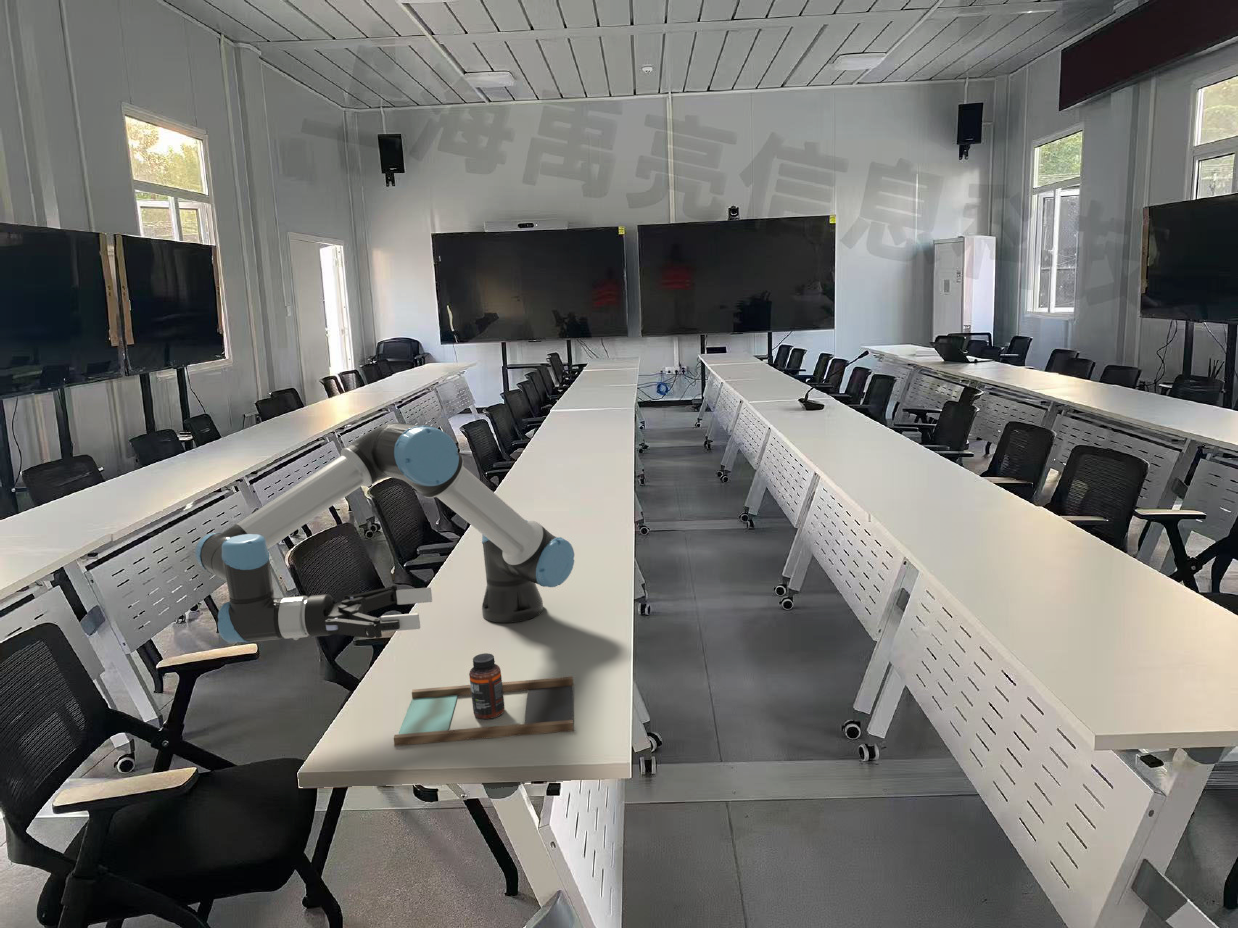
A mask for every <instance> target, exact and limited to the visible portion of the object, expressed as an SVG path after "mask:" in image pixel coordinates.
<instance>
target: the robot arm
mask: <svg viewBox="0 0 1238 928" xmlns="http://www.w3.org/2000/svg"><path fill="white" fill-rule="evenodd" d="M387 478H394V479H398V480H402V481H404V482H405V483H407V484H409V486H411V487H412V488H413V489H414V490H415V491H417V492H418V493H419V494H421V495H422V496H423V497H425V498H426V499H434V498H437V499H438V500H440V501H441V502H442V503H443V504H445V505H446V506H447V507H448V508H450V509H451V510H452V511H453V512H454V513H456V514H457V516H459V517H461V518H462V519H463V520H464V521H466V522H467V523H468V524H469V525H471V526H472V527H473V528H474V529H475V530H477V531H478V532H479V533H480V534H481V535H482V540H481V541H482V542H481V543H482V548H483V549H482V551H483V558H484V569H485V579H486V587H485V591H484V595H483V600H482V605H481V610H482V611H481V614H482V617H483V618H484V619H485V620H487V621H489V622H493V623H500V624H501V623H503V624H505V623H506V624H507V623H508V624H509V623H519V622H522V621H527V620H530V618H531V619H533V618H535V617H538V616H539V615H540V614H542V612H543V611H542V610H544V601H543V598H542V595H541V593H540V591H539V589H538V587H537V585H539V586H540V587H545V588H556V587H558V586H561V585H562V584H563V583H565V581H566V580H567V579H568V578H569V577H570V576H571V573H572V571H573V569H574V564H575V551H574V547H573V545H572V544H571V543H570V542H569V540H566V539H565V538H563V537H561V536H560V537H559V536H558V537H557V536H555V535H553V534H552V533H551V532H549V530H548V529H546V528H545V527H544V526H543V525H541V524H540V523H539V522H538V521H535V520H527V519H525V518H524V517H522V516H521V515H520V514H519V513H518V512H517V511H515V510H514V509H513V507H511V506H510V505H508V504H507V503H506V502H505V501H504V500H503V499H501V497H499V496H498V494H496V493H495V492H494V491H493V490H491V488H489V487H488V486H486V484H484V483H483V482H482V481H481V480H480V479H479V478H478V477H476V476H475V475H474V474H473V473H472V472H471V471H470V470H468V469H467V468H466V467H465V466H464V457H463V456H462V454H461V453H459V452H458V447H457V444H456V442H455V441H454V440H453V438H452V437H451V436H450V435H449V434H447V433H446V432H445V431H443V430H441V429H439V428H436V427H434V426H430V425H417V424H415V425H414V424H409V423H404V422H403V423H402V422H391V423H386V424H383V425H381V426H379V427H375V428H374V429H373V430H370V431H369V432H367V433H366V434H364V435H362V436H361V437H359V438H358V439H356V440H354V441H353V442H351V443H349V444H348V445H347V446H345V447H343V448H342V449H341V450H340V456H339V457H337V458H336V459H334V460H332V461H331V462H329V463H328V464H326V465H325V466H324V467H321V468H320V469H319V470H317V471H316V472H313V473H312V474H311V475H309V476H308V477H306V478H304V479H303V480H301V481H300V482H299V483H298V484H296V485H293V487H290V489H288V490H287V491H285V492H284V493H282V494H281V495H279V496H277V497H276V498H274V499H273V500H271V501H269V502H268V503H266V504H264V506H261V507H260V508H259V509H257V510H255V511H254V512H252V513H251V514H249V515H248V516H247V517H244V519H242V520H240V521H238V522H237V523H236V524H234V525H232V526H231V527H229V528H227V529H226V530H224V531H223V532H213V533H209V534H206V535H205V536H203V537H202V538H201V539H200V540H199V541H198V542H197V545H196V548H195V559H196V561H197V563H198V565H200V566H201V567H202V568H203V570H205V571H206V572H207V573H210V574H211V575H215V576H216V577H218V578H220V579H221V580H223V581H225V582H226V585H227V591H228V599H229V601H227V602H224V603H223V604H222V605H221V606H220V607H219V610H218V613H217V619H218V622H217V629H218V633H219V636H220V637H221V638H222V639H223V640H224V641H225V642H228V643H246V644H247V643H248V644H249V643H253V642H263V641H264V642H265V641H273V640H285V639H293V640H294V641H297V640H299V639H300V638H307V637H309V636H310V637H311V638H315V637H327V636H330V635H343V636H349V637H350V636H351V637H360V638H366V639H374V638H376V639H378V638H381V637H383V634H382V633H386V632H399V631H412V630H420V629H421V621H420V614H419V612H418V613H404V614H390V615H389V614H388V615H381V616H380V618H378V617H376V616H373V615H372V616H371V615H368V612H371V611H375V610H378V609H380V608H384V607H387V606H391V605H393V604H397V605H411V604H422V603H423V604H424V603H432V602H433V596H432V595H433V593H432V587H421V588H420V587H419V588H407V589H406V588H405V589H398V586H397V585H391V586H387V587H383V588H378V589H374V590H370V591H365V592H360V593H356V594H345V595H344V596H343V600H342V601H339V602H336V601H334V598H333V597H332V596H331V594H329V593H328V594H327V593H326V594H315V595H313V594H312V595H310V596H307V595H298V596H287V597H275V593H274V586H273V585H274V584H273V579H272V578H273V577H272V571H271V563H270V552H269V549H270V548H271V547H273V546H274V545H276V544H277V543H279V542H280V541H282V540H284V539H285V538H286V537H287V536H289V535H291V534H293V533H294V532H295V531H297V530H298V529H300V528H302V527H303V526H304V525H306V524H307V523H308V522H311V521H312V520H313V519H315V518H316V517H318V516H319V515H320V514H322V513H324V512H325V511H327V510H328V509H329V508H331V507H332V506H334V505H336V504H337V503H338V502H340V501H341V500H343V499H344V498H346V497H348V495H350V494H352V493H353V492H354V491H356V490H358V489H359V488H361V487H365V488H366V487H367V488H369V487H370V486H372V485H374V484H375V483H376V482H378V481H381V480H384V479H387ZM536 584H537V585H536ZM539 613H540V614H539ZM534 616H535V617H534Z"/></svg>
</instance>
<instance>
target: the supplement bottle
mask: <svg viewBox="0 0 1238 928" xmlns="http://www.w3.org/2000/svg"><path fill="white" fill-rule="evenodd" d="M495 662H496V661H495V656H494V654H492V653H487V652H486V653H485V652H484V653H480V654H476V655H475V656H474V657H473V658H472V668H471V669H470V670H469V673H468V674H469V685H470V686H471V703H472V710H473V715H474V717H475V718H478V719H480V720H482V719H483V720H490V719H495V718H497V717H499V716H500V715H502V714H503V713H504V711H505V710H506V709H505V698H504V692H503V687H502V682H503V680H502V671H501V670H502V669H501V667H500V666H499V665H498V664H496V663H495Z"/></svg>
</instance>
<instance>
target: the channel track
mask: <svg viewBox="0 0 1238 928" xmlns="http://www.w3.org/2000/svg"><path fill="white" fill-rule="evenodd" d="M502 687H503V693H504V692H505V693H506V692H516V691H517V692H518V691H520V692H521V691H527V696H526V705H525V713H524V723H521V724H520V723H517V724H507V725H497V726H496V725H495V726H482V727H472V728H459V729H450V726H451V722H452V718H453V715H454V710H455V708H456V703H457V700H458V696H470V695H471V686H470V684H467V685H466V684H465V685H464V684H463V685H453V686H442V687H441V686H440V687H429V688H427V687H426V688H418V689H417V688H414V689H412V691H411V698H412V699H411V700H410V703H409V706H408V709H407V710H406V713H405V716H404V718H403V720H402V721H403V722H402V723H401V726H400V728H399V731H398V733H397V734H394V735H393V744H394V746H397V747H398V746H409V745H419V744H420V745H421V744H430V743H431V744H432V743H433V744H434V743H442V742H443V743H445V742H453V741H467V740H479V739H480V740H481V739H489V738H492V737H493V738H501V737H502V738H503V737H515V736H516V737H517V736H527V735H539V734H549V733H550V734H552V733H561V732H573V731H574V677H573V676H564V677H563V676H562V677H552V678H550V677H549V678H539V679H538V678H537V679H528V680H527V679H526V680H515V681H513V680H512V681H502ZM471 696H472V695H471Z"/></svg>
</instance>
